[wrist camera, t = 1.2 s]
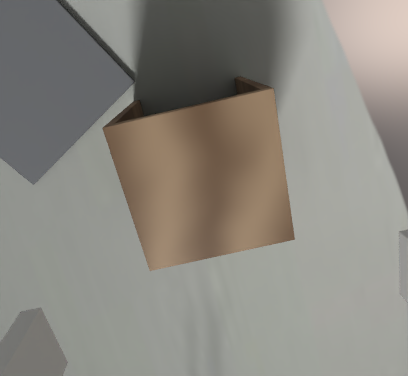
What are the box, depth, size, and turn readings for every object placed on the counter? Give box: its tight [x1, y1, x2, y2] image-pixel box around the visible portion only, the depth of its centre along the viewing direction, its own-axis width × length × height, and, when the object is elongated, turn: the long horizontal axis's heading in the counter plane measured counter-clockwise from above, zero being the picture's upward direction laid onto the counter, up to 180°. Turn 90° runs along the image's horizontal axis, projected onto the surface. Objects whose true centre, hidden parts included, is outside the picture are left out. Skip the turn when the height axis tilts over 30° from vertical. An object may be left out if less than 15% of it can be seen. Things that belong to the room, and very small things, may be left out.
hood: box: [103, 76, 295, 271], centre depth 29 cm, size 11×11×13 cm
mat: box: [0, 0, 135, 185], centre depth 32 cm, size 15×15×1 cm
